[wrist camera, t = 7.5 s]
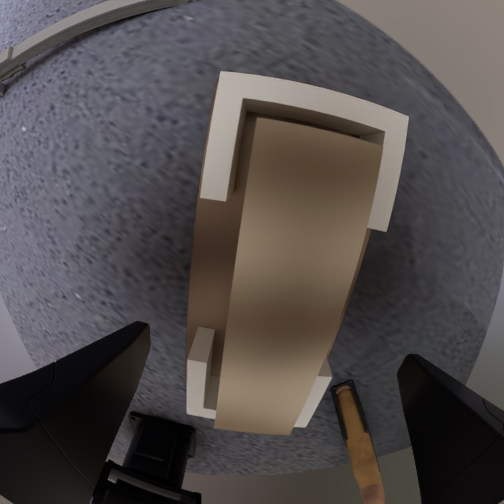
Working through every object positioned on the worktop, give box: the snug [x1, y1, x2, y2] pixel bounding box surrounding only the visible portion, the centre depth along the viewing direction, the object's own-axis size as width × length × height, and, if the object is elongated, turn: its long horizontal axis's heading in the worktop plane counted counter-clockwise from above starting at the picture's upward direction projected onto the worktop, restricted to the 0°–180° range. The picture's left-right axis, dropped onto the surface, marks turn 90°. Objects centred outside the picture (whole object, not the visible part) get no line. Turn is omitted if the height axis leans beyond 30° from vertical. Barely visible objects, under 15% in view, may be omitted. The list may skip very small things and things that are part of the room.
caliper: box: [0, 0, 197, 98], centre depth 8 cm, size 20×1×6 cm, turn 98°
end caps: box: [187, 71, 409, 427], centre depth 13 cm, size 18×8×3 cm, turn 171°
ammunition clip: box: [331, 380, 385, 504], centre depth 14 cm, size 11×2×12 cm, turn 25°
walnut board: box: [185, 79, 371, 385], centre depth 15 cm, size 19×9×1 cm, turn 171°
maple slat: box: [214, 117, 384, 435], centre depth 12 cm, size 14×4×5 cm, turn 171°
